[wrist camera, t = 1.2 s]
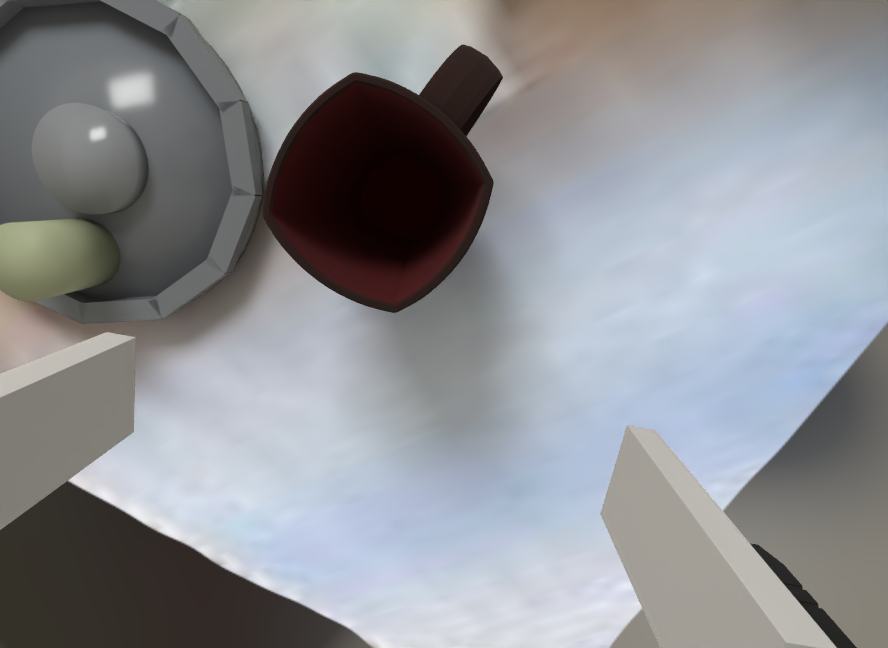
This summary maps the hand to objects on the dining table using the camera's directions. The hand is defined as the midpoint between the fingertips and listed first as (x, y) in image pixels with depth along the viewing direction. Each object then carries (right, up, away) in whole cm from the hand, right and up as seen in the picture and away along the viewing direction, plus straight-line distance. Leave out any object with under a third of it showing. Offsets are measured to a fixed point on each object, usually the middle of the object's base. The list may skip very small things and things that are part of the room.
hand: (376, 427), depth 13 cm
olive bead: (-24, +8, +22) cm, 34 cm away
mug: (0, +13, +22) cm, 25 cm away
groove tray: (-22, +14, +22) cm, 34 cm away
